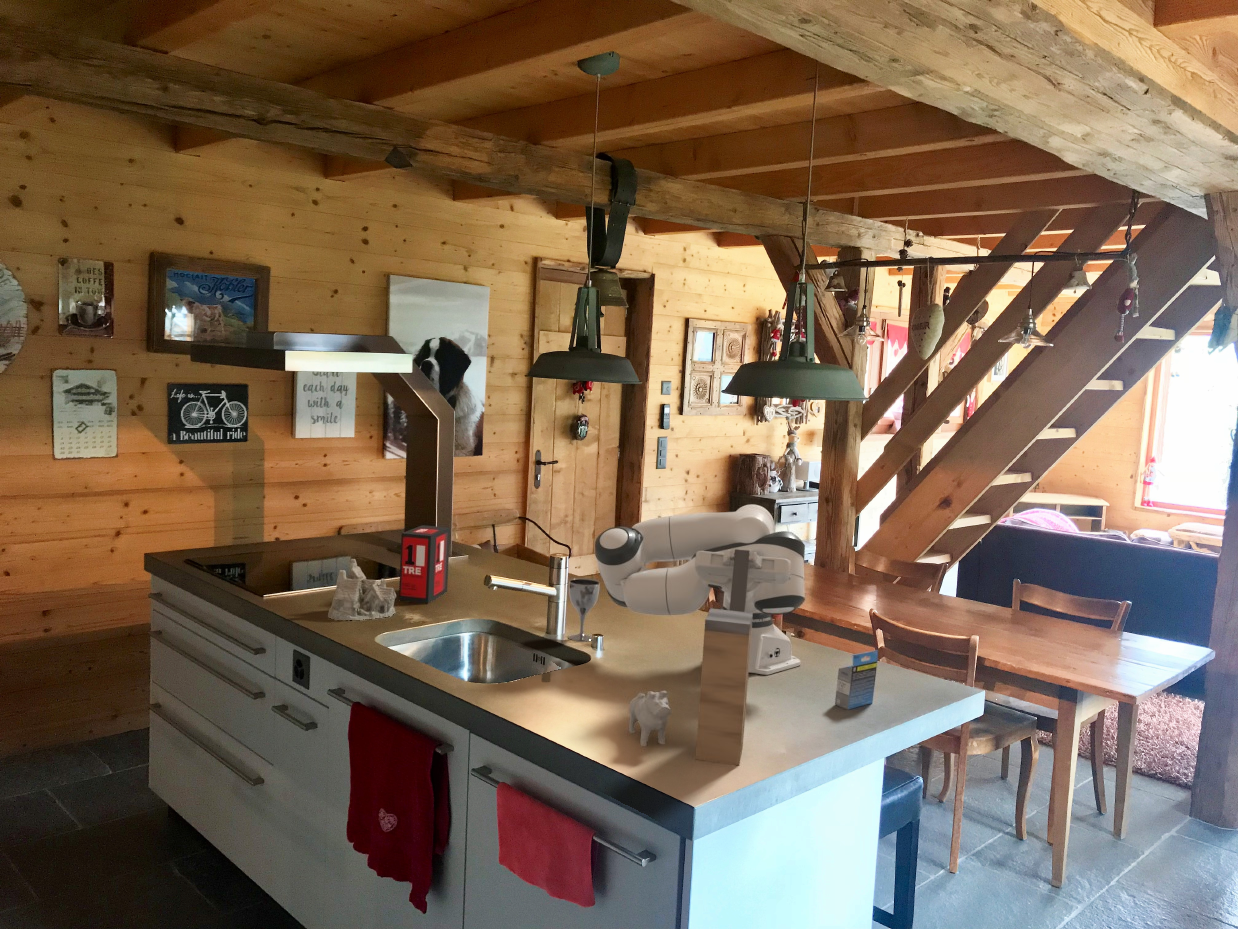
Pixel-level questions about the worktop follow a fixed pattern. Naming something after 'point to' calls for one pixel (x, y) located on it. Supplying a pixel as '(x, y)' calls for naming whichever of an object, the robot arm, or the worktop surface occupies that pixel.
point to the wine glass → (583, 602)
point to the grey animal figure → (650, 715)
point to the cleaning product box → (424, 564)
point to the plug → (739, 580)
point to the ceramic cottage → (361, 597)
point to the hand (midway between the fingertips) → (741, 554)
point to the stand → (724, 686)
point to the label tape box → (857, 681)
